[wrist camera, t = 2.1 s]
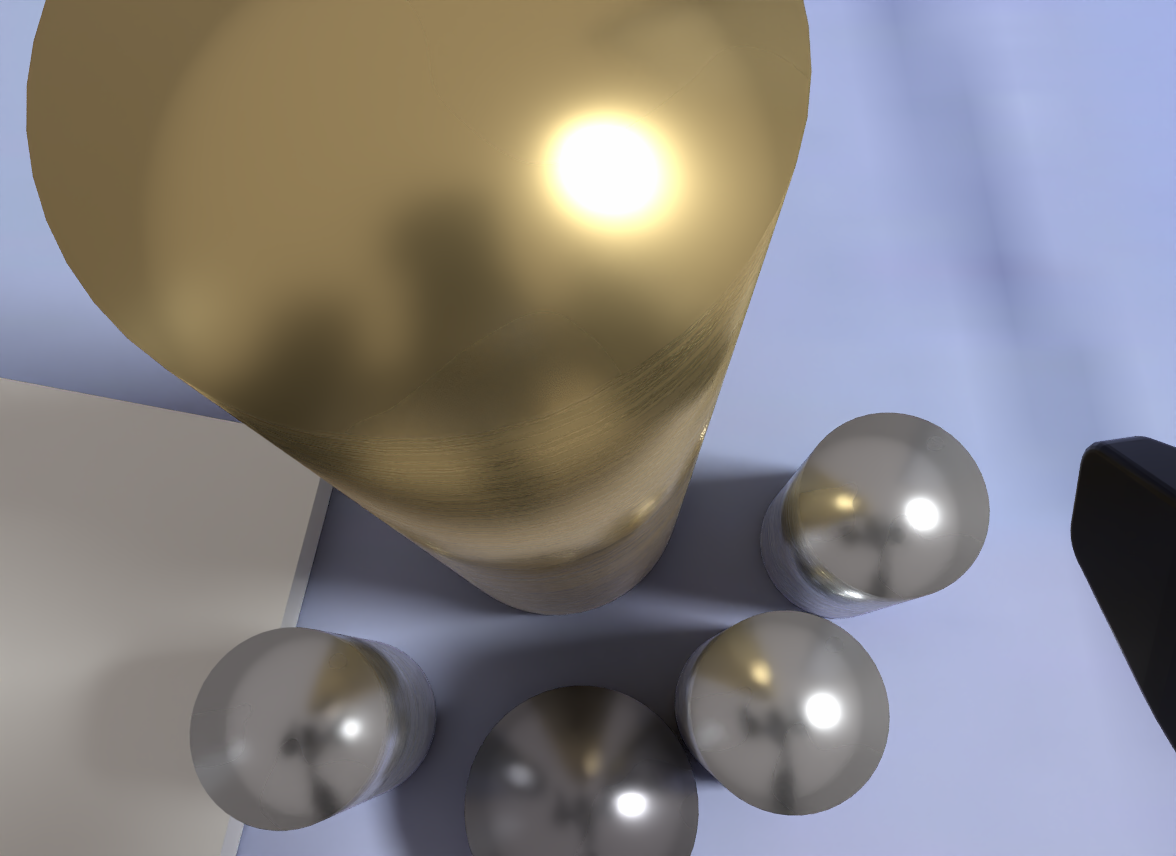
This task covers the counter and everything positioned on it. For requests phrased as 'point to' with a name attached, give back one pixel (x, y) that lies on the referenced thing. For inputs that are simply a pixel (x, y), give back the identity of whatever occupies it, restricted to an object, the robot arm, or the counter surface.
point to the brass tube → (437, 244)
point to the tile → (131, 610)
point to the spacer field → (612, 719)
